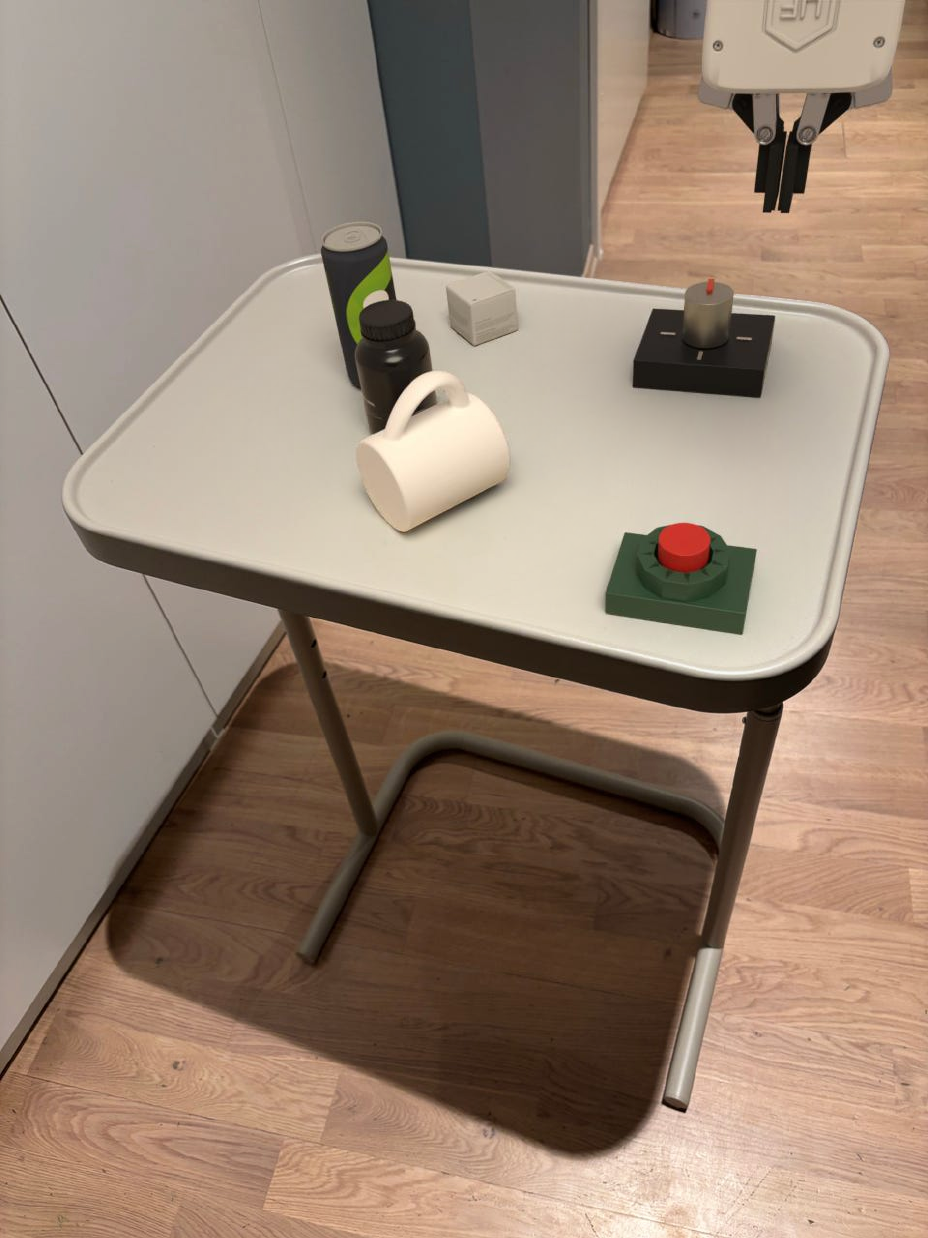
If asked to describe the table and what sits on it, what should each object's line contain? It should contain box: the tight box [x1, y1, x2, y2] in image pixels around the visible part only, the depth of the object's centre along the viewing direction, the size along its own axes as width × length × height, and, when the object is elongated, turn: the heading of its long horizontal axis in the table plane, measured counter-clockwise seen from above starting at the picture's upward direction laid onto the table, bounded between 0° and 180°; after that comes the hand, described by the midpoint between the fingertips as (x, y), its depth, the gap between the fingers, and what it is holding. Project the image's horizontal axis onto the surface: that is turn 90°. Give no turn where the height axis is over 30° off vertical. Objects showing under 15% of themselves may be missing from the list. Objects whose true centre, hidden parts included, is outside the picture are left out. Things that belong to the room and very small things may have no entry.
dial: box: [682, 278, 735, 348], centre depth 89 cm, size 4×4×5 cm
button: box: [658, 522, 710, 573], centre depth 68 cm, size 4×4×2 cm
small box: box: [445, 270, 519, 347], centre depth 100 cm, size 6×6×5 cm
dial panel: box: [632, 307, 776, 398], centre depth 91 cm, size 12×10×3 cm
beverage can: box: [320, 221, 397, 389], centre depth 92 cm, size 6×6×15 cm
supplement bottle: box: [355, 299, 438, 435], centre depth 86 cm, size 7×7×12 cm
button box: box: [604, 524, 758, 635], centre depth 70 cm, size 10×7×4 cm
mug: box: [355, 370, 511, 533], centre depth 78 cm, size 8×10×12 cm
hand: (778, 203), depth 59 cm, fingers closed
